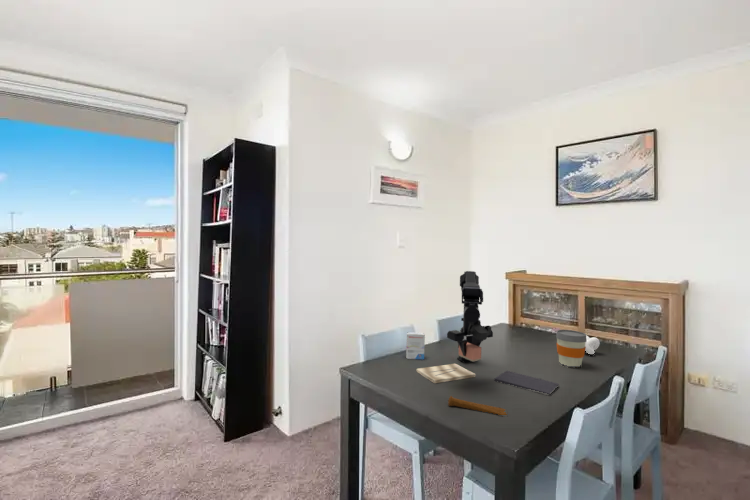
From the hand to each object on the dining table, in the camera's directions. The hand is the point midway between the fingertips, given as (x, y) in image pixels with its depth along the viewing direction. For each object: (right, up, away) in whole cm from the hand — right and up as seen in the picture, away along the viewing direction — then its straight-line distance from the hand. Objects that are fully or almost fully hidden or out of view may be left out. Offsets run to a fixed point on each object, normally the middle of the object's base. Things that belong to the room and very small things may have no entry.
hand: (469, 355), depth 150 cm
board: (-8, -10, +8) cm, 15 cm away
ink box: (-19, -10, +29) cm, 36 cm away
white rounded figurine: (+71, -11, +42) cm, 84 cm away
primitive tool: (-3, -12, -24) cm, 27 cm away
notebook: (+23, -12, -1) cm, 25 cm away
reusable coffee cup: (+53, -11, +23) cm, 59 cm away
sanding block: (0, -1, 0) cm, 1 cm away
